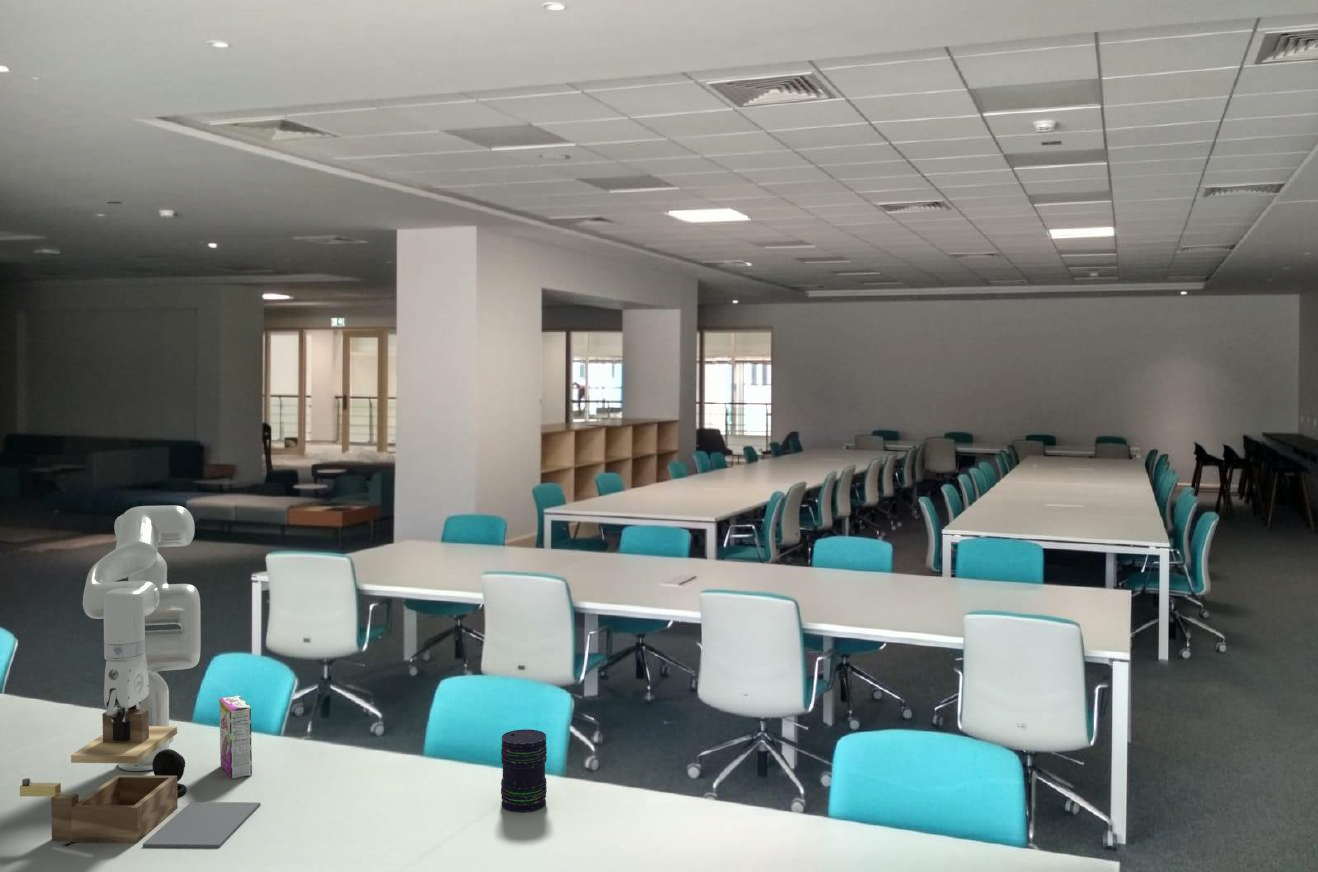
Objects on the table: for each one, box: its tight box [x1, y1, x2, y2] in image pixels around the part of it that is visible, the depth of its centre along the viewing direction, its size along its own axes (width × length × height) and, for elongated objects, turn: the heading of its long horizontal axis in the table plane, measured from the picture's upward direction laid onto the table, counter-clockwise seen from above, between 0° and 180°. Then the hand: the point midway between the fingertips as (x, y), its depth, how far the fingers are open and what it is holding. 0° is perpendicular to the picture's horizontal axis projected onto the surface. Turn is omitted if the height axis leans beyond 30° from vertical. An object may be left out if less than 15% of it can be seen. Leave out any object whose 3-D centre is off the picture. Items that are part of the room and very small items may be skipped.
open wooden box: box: [50, 774, 179, 844], centre depth 225 cm, size 18×17×8 cm
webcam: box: [152, 748, 188, 798], centre depth 242 cm, size 8×8×10 cm
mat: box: [142, 801, 262, 849], centre depth 225 cm, size 22×15×1 cm
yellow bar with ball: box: [19, 777, 62, 798], centre depth 218 cm, size 2×7×3 cm, turn 90°
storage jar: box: [500, 728, 548, 814], centre depth 238 cm, size 10×10×15 cm
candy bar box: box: [218, 695, 253, 780], centre depth 257 cm, size 11×5×16 cm, turn 34°
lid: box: [70, 709, 178, 764], centre depth 225 cm, size 18×13×8 cm
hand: (126, 737), depth 225 cm, fingers closed on lid, 3 cm apart
